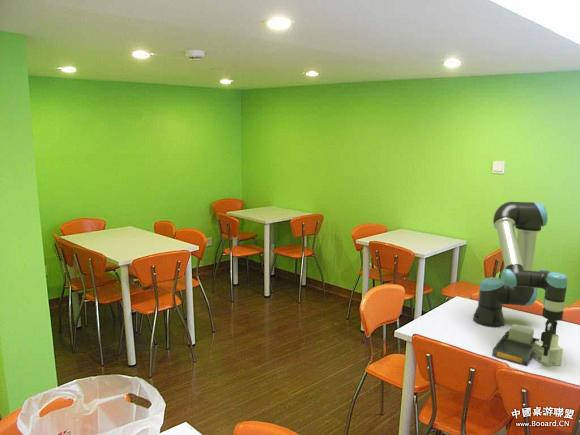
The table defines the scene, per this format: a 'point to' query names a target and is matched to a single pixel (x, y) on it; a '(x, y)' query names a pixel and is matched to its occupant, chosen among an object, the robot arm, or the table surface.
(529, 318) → the table surface
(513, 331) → the filler block
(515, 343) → the rack tray
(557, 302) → the robot arm
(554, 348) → the container
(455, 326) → the table surface
